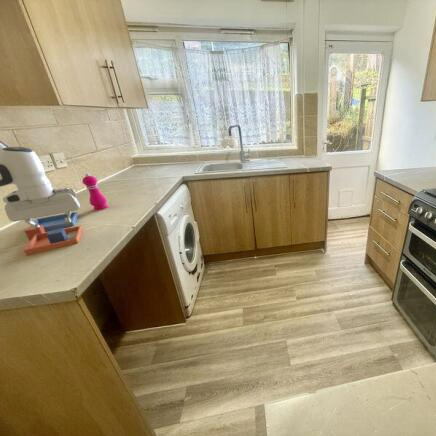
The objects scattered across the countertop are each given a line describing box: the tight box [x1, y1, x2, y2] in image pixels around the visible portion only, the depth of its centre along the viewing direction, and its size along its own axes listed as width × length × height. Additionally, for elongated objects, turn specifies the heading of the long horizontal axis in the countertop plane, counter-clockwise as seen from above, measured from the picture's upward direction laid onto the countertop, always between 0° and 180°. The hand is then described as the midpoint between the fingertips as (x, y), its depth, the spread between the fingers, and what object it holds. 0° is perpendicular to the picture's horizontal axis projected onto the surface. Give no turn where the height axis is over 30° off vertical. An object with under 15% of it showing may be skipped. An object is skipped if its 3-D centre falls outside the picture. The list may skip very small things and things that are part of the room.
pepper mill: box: [82, 172, 109, 211], centre depth 130 cm, size 7×7×20 cm
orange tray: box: [23, 225, 83, 257], centre depth 99 cm, size 15×15×2 cm
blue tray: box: [29, 211, 79, 232], centre depth 115 cm, size 15×15×2 cm
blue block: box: [47, 228, 69, 244], centre depth 98 cm, size 4×4×4 cm
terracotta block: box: [24, 225, 46, 241], centre depth 103 cm, size 4×4×4 cm
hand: (53, 225), depth 96 cm, fingers open, 8 cm apart
